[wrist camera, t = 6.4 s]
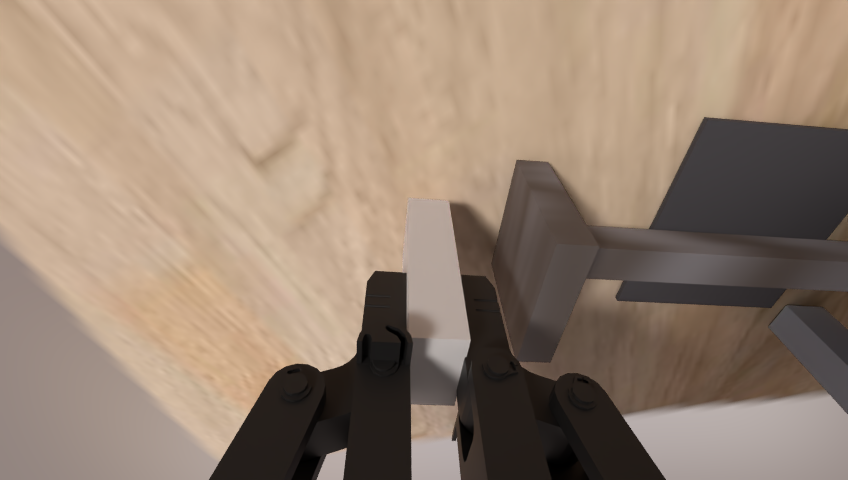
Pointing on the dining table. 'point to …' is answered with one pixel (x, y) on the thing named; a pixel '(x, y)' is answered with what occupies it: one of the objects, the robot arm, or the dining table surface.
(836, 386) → the tunnel
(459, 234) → the dining table surface
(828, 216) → the mat
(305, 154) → the dining table surface
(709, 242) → the push rod
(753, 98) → the dining table surface
